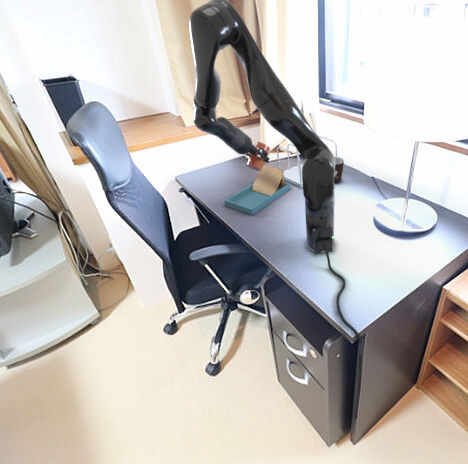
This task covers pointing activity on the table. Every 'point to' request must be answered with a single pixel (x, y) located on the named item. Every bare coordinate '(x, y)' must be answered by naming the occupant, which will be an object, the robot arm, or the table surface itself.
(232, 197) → the tray
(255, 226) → the table surface
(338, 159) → the coffee mug
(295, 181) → the file sorter
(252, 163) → the orange cylinder
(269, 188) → the wooden stand
